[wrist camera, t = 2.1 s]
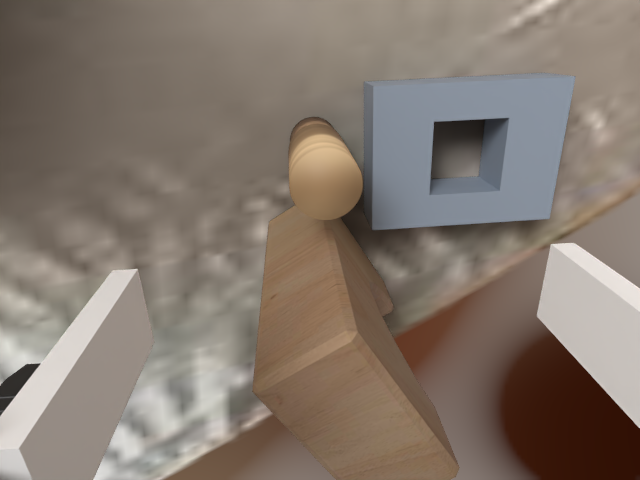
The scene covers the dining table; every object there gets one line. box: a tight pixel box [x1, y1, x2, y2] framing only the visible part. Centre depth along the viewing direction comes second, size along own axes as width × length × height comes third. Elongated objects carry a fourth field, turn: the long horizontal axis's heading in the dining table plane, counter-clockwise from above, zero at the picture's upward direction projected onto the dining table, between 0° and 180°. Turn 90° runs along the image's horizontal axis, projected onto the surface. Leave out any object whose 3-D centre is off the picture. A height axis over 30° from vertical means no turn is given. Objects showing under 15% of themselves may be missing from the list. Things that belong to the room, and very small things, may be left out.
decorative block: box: [252, 205, 459, 480], centre depth 30 cm, size 11×6×20 cm, turn 31°
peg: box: [289, 117, 363, 220], centre depth 29 cm, size 4×4×12 cm
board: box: [364, 73, 575, 230], centre depth 34 cm, size 10×14×4 cm
